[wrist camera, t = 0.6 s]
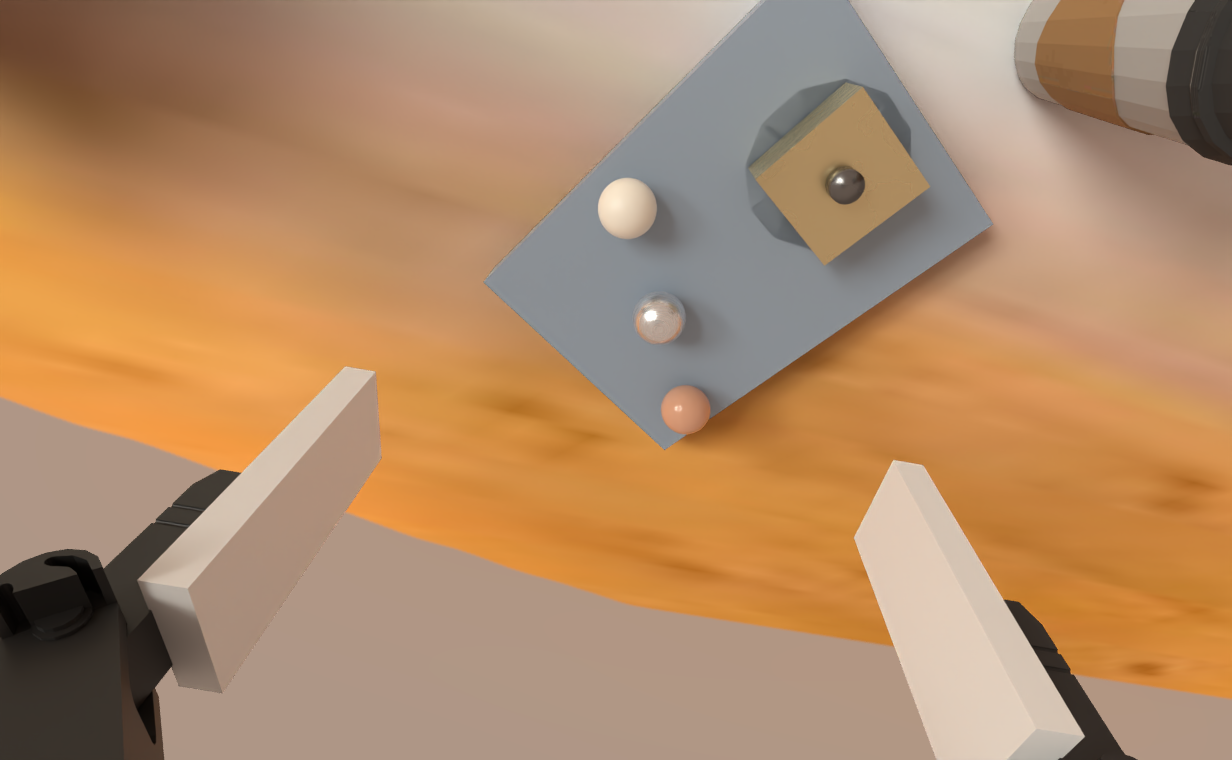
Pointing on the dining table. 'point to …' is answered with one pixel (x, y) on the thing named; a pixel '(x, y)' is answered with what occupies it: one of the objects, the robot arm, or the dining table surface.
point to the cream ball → (627, 208)
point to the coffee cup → (1136, 65)
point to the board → (730, 223)
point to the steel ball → (659, 318)
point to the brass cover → (839, 173)
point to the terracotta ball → (685, 409)
